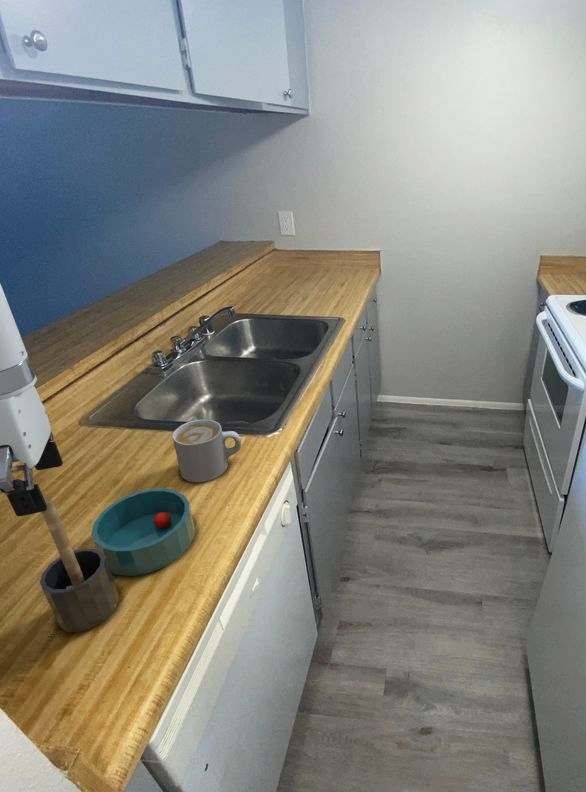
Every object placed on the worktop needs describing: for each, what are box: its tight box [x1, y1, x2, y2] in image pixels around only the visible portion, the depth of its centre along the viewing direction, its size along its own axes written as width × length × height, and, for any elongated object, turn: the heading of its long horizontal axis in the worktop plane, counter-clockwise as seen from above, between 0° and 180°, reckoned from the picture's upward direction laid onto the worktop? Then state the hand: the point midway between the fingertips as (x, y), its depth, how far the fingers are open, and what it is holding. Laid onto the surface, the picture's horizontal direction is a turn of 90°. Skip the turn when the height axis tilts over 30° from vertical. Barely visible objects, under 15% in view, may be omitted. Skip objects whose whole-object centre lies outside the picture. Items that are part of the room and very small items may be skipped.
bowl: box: [91, 488, 196, 577], centre depth 87 cm, size 16×16×6 cm
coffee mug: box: [172, 419, 242, 483], centre depth 105 cm, size 13×10×10 cm
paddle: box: [41, 497, 85, 589], centre depth 70 cm, size 4×2×22 cm, turn 113°
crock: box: [39, 547, 120, 633], centre depth 73 cm, size 8×8×9 cm
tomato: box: [154, 512, 171, 529], centre depth 90 cm, size 3×3×3 cm
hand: (42, 488), depth 64 cm, fingers open, 9 cm apart
